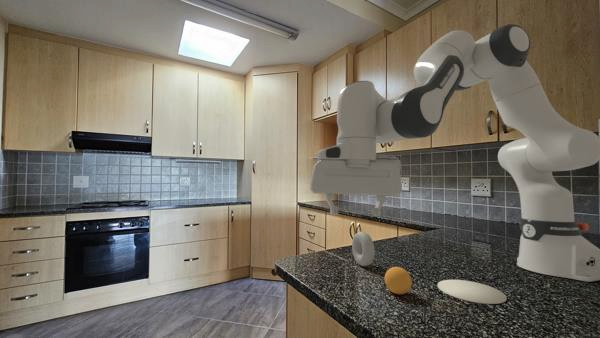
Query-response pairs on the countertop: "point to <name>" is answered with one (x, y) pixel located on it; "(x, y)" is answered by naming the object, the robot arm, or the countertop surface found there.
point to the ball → (398, 280)
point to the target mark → (472, 291)
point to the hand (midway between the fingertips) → (355, 215)
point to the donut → (363, 248)
